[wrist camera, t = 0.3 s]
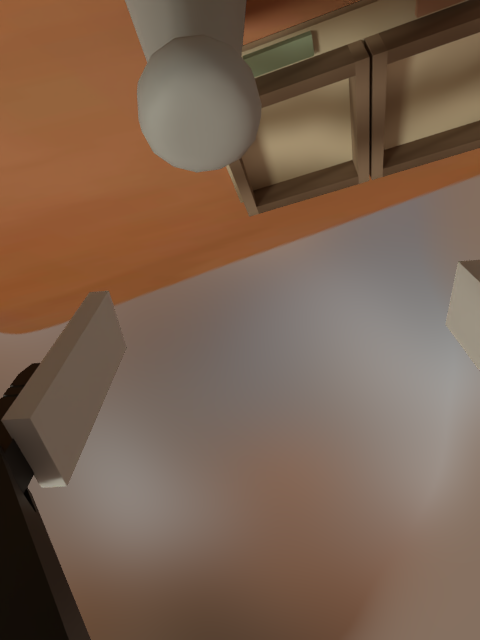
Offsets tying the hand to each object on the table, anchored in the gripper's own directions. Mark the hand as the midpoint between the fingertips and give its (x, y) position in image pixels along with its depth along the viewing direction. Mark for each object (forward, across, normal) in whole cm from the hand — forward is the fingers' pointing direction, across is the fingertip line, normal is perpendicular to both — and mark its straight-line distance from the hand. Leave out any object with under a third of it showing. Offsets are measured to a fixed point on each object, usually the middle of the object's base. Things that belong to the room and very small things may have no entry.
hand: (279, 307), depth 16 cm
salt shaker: (+13, -3, +13) cm, 18 cm away
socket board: (+18, +7, +5) cm, 20 cm away
